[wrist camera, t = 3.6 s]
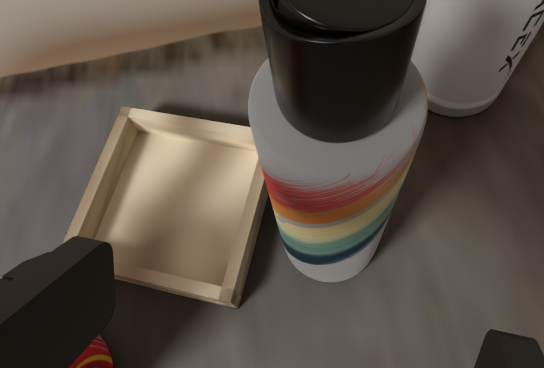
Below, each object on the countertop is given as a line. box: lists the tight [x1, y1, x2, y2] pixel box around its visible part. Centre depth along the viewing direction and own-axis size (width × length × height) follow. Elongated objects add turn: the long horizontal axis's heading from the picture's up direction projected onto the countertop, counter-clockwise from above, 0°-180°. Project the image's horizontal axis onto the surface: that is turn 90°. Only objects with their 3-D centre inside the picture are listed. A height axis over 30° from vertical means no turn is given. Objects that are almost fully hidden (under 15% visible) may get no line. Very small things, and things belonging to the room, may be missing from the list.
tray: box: [63, 106, 269, 309], centre depth 28 cm, size 11×11×2 cm
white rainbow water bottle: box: [248, 0, 428, 282], centre depth 19 cm, size 6×6×20 cm
